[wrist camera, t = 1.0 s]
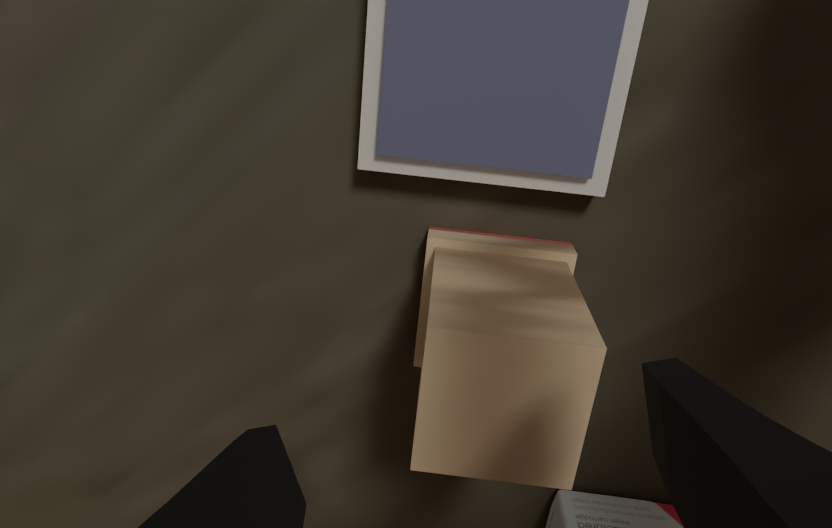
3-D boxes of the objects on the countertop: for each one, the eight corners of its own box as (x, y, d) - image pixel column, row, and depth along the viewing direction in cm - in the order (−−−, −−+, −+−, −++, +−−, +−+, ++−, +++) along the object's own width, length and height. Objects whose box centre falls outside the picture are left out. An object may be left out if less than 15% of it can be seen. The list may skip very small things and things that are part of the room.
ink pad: (656, -82, 17) (672, -91, 16) (597, 189, 20) (607, 199, 19) (379, -110, 17) (374, -120, 16) (362, 162, 20) (355, 171, 19)
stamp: (570, 242, 21) (622, 339, 14) (545, 365, 23) (580, 500, 16) (429, 226, 21) (416, 314, 15) (415, 349, 23) (398, 477, 16)
